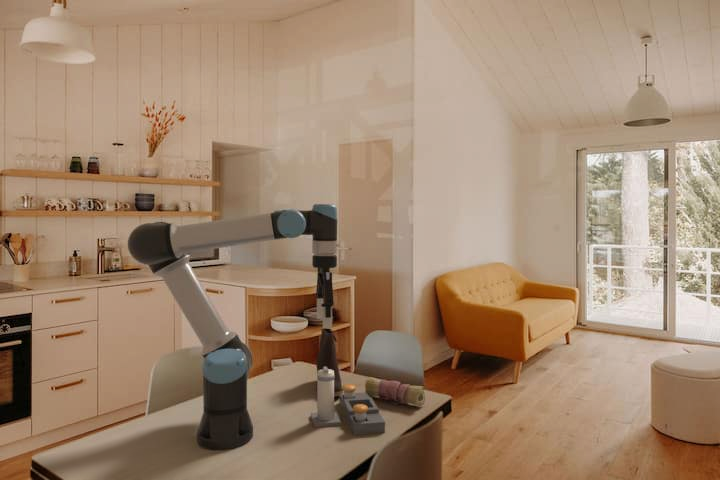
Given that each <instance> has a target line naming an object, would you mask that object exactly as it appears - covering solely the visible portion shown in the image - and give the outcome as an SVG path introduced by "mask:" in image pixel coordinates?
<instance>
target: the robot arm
mask: <svg viewBox="0 0 720 480" xmlns="http://www.w3.org/2000/svg"><path fill="white" fill-rule="evenodd" d="M300 236H312V243H311V244H312V245H311V249H312V250H311V251H312V254H313V255H312V259H311V260H312V262H311V263H312V264H311V266H312V267H313V268H315V269H317V274H316V275H317V279H316V288H315V289H316V292H315V295H316V319H317V320H318V319H319V320H320V319H322V329H324V328H326V329H333V306H334V304H335V303H334V302H335V301H334V288H333V287H334V286H333V272H330V271H331V270H330V269H334V268H337V265H338V256H337V255H336V254H337V253H338V249H337V248H338V247H339V246H340V244H339V243H338V208H337V206H336V205H335V204H331V203H327V204H326V203H324V204H323V203H322V204H321V203H320V204H319V203H318V204H317V203H315V204H313V205H312V208H311V210H300V209H299V210H298V209H281V210H280V209H279V210H278V209H277V210H274V211H273V212H267V213H261V214H254V215H247V216H246V215H245V216H242V217H232V218H226V219H218V220H211V221H205V222H204V221H203V222H197V223H192V224H184V225H177V224H176V223H174V222H171V223H170V222H166V221H165V222H164V221H155V222H149V223H148V222H147V223H143V224H140V225H138V226H136V227H135V228H134V229H133V230H132V231H131V233H130V234H129V237H128V239H127V249H128V252H129V254H130V256H131V257H132V258H133V260H136V262H138V263H140V264H143V265H148V267H149V269H150V270H151V272H152V274H153V275H154V276H158V277H161V278H162V280H163V281H164V283H165V285H166V286H167V288H168V290H169V292H170V293H171V294H172V296H173V298H174V300H175V301H176V303H177V305H178V306H179V308H180V310H181V312H182V314H183V315H184V316H185V319H186V320H187V322H188V323H189V325H190V327H191V328H192V330H193V332H194V334H195V335H196V337H197V338H198V340H199V342H200V343H201V345H202V349H201V350H202V351H201V355H202V357H203V359H204V360H203V364H202V365H203V366H202V374H203V375H202V376H203V377H202V380H203V382H202V383H203V384H202V387H203V389H202V390H203V395H202V396H203V405H202V406H203V413H202V415H201V418H200V422H199V425H198V428H197V432H196V443H197V444H198V445H199V446H200V447H202V448H204V449H208V450H215V451H217V450H220V451H222V450H230V449H235V448H238V447H241V446H243V445H246V444H247V443H249V442H250V441H251V440H252V439H253V437H254V424H253V422H252V420H251V416H250V414H249V410H248V404H247V403H248V379H249V375H250V372H251V370H252V367H253V354H252V351H251V350H250V348H249V347H248V346H247V344H246V343H244V342H243V341H242V340H241V339H240V337H239V335H238V334H237V332H236V331H231V330H229V328H228V326H226V325H227V324H225V322H224V320H223V319H222V316H221V315H220V313H219V311H218V309H217V308H216V306H215V304H214V303H213V301H212V300H211V298H210V296H209V294H208V293H207V291H206V289H205V288H204V286H203V285H202V283H201V281H200V279H199V278H198V276H197V274H196V271H194V269H193V267H192V265H191V264H190V259H191V254H190V253H195V252H196V253H197V252H203V251H209V250H215V249H222V248H229V247H234V246H242V245H249V244H255V243H263V242H269V241H274V240H282V239H295V238H298V237H300Z"/></svg>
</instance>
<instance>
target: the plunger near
mask: <svg viewBox="0 0 720 480" xmlns="http://www.w3.org/2000/svg"><path fill="white" fill-rule="evenodd" d="M367 410H368V407H367V406H366V405H363V404H357V405H354V406H353V411H355V422H363V421H366V411H367Z"/></svg>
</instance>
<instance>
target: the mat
mask: <svg viewBox="0 0 720 480" xmlns="http://www.w3.org/2000/svg"><path fill="white" fill-rule="evenodd" d="M310 418H311V421H312V424H313V427H314V428H323V427H334V426H335V427H336V426H337V427H338V426H342V421H341V418H340V416H339V414H338V411H335V410H334V418H333V419H332V420H328V421H322V420H319V419H318V418H317V412H311V413H310Z"/></svg>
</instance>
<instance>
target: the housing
mask: <svg viewBox="0 0 720 480" xmlns="http://www.w3.org/2000/svg"><path fill="white" fill-rule="evenodd" d="M357 404H363V405H366V406H367V407H368V410H367V411H366V421H363V422H355V411H353V406H354V405H357ZM339 405H340V407H341V409H342V411H343V414H344V415H345V416H344V417H345V418H346V420H347V422H348V425H349V427H350V429H351V431H352V434H353V435H354V436H356V435H367V434H368V435H369V434H377V433H378V434H380V433H381V434H382V433H385V432H386V431H385V430H386V422H385V419H384V418H383V417H382V415H381V413H380V408H379V407H378V406H377V404H376V403H375V401H374V399H373V397H372V396H368V394H367V393H366V391H365V392H354V398H351V399H344V393H342V394H340V396H339Z"/></svg>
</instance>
